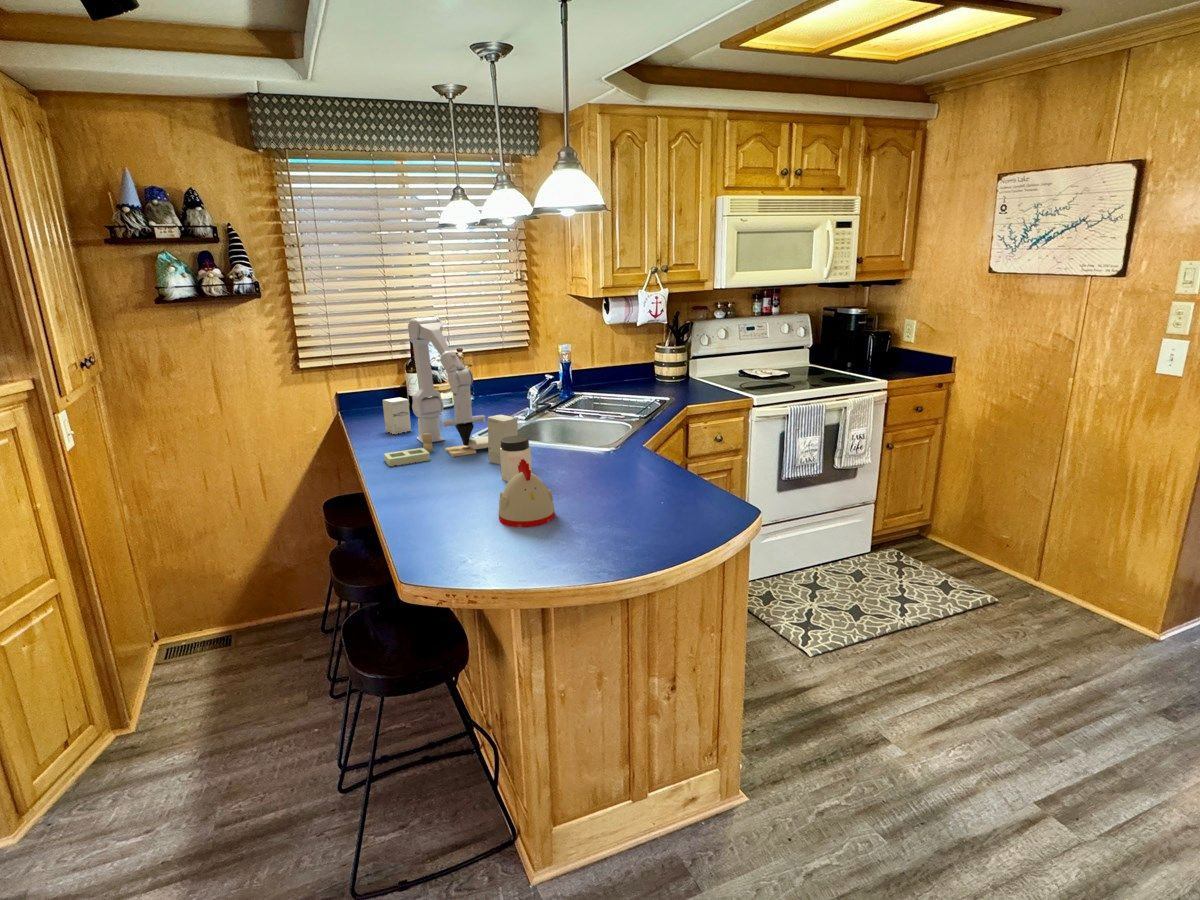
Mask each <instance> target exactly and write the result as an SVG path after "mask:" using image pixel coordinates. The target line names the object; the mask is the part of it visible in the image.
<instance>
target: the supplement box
mask: <svg viewBox="0 0 1200 900" xmlns="http://www.w3.org/2000/svg"><path fill="white" fill-rule="evenodd" d="M382 409H383V417H384V428H385V432H386V431H387V432H386V433H388V432H390V433H389V434H391V433H392V434H391V435H393V434H395V435H398V433H399V434H403V433H402V432H405V433H408V432H407V431H411V432H412V426H411V425H412V424H411V416H410V415H411V414H410V403H409V399H408V398H403V397H399V396H398V397H394V398H387V399H382Z"/></svg>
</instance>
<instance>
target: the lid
mask: <svg viewBox="0 0 1200 900" xmlns="http://www.w3.org/2000/svg"><path fill="white" fill-rule="evenodd" d="M468 446H469V447H471V448H472V449H475V450H479V449H486V448H488V435H487V436H479V437H473V438H471V437H470V438H469V445H468Z"/></svg>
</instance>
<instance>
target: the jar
mask: <svg viewBox="0 0 1200 900" xmlns="http://www.w3.org/2000/svg"><path fill="white" fill-rule="evenodd" d="M521 459H525V461H526V462H527V463H529V470H531V473H532V474H533V469H532V467H533V465H532V449H531V446H530V441H529V437H527V436H525V435H524V436H523V435H518V436H510V437H505V438H503V439H501V449H500V460H501V465H500V471H501V480H503V481H505V482H507V483H508V482H509V481H510V480H511V479H512V478H513V477H514V476H515V475H516V474H518V473H519V471H518V465H519V462H521Z"/></svg>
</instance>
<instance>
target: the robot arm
mask: <svg viewBox="0 0 1200 900" xmlns="http://www.w3.org/2000/svg"><path fill="white" fill-rule="evenodd" d="M407 331H408V336H409V337H408V338H409V341H410V343H412V347H413V355H414V363H415V369H416V377H417V384H418V389H417V391H416V392H415V393H414V394H413V395H412V397H411V398H412V405H411V408H412V411H413V414H414V415H415V416H416V418H417V428H418V430H417V431H418V436H416V439H417V440H418V441H419V442H421V443H422V444H423V438H422V434H424V433H431V436H432V443H435V442H442V441H445V440H446V439H445V438H444V437H442V434H441V432H442V431H441V427H442V428H448V427H451V426H452V427H454V426H455V427H454V428H455V429H456V430H457V431H458V434H459V436H460V438H461V441H462V445H465V446H467V445H469V438H471V434H472V431H473V429H474V426H475V425H474V423H484V422H486V415H484V414H480V415H473V410H472V398H471V397H472V396H471V386H472V384H473V383H474V376H473V373H472V371H471V369H470V368H467V367H466V366H465V365H463V364H462V362H461V360H460V358H459V357H458V355H457V353H456V352H455V351H451V349H450V347H449V345H448V343H447V341H446V338H445V337H444V335H443V324H442V321H441V320H440V319H439V317H438V316H431V317H420V318H411V319H410V321H409V322H408V324H407ZM430 343H431V344H432V345H433V347H434V348H435V350H436V351H437V353H438V354H439V355H440V359H439V362H440V364H441V365H442V366H443V368H444V370H445V372H446V374H447V375H448V378H447V382H448V385H449V386H450V391H451V394H452V398H453V399H452V400H453V409H454V410H453V411H454V417H453V418H450V419H444V420H443V419H442V420H441V419H440V416H441V415H442V412H443V411H444V408H445V407H444V401H443V398H442V395H441V393H440V391H438V390H436V389H435V387H434V379H433V373H432V365H431V364H432V363H431V356H430V349H429V344H430ZM440 420H441V421H440ZM440 422H441V423H440Z"/></svg>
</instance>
